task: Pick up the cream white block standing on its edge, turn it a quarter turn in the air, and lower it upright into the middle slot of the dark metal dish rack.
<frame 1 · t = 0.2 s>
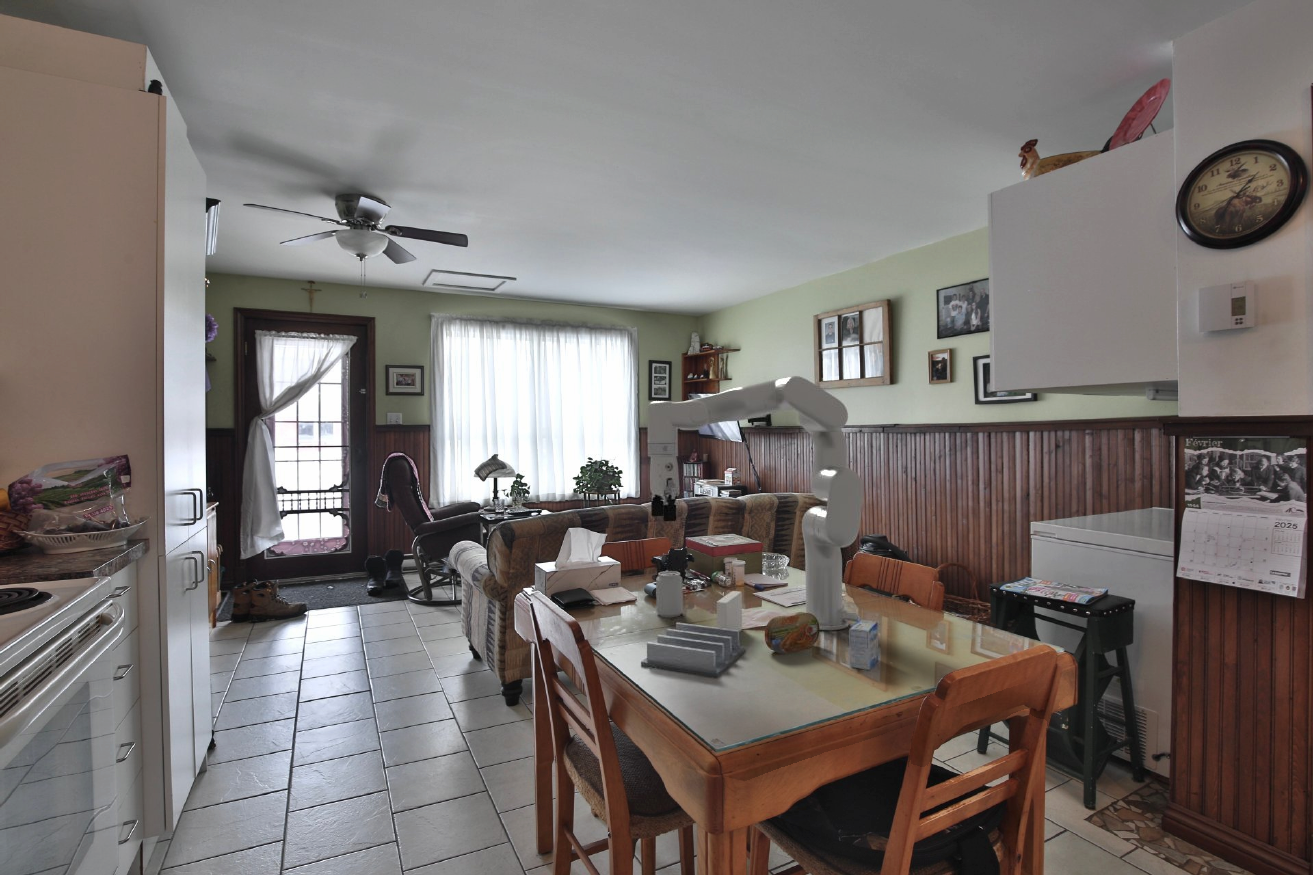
hand: (663, 518, 163), 31 cm above the table, tool pointing down, fingers open, 9 cm apart
dish rack: (694, 658, 150), on the table
cream white block: (730, 635, 166), on the table
can: (669, 615, 186), on the table
tin: (792, 650, 155), on the table
medicine box: (864, 664, 145), on the table
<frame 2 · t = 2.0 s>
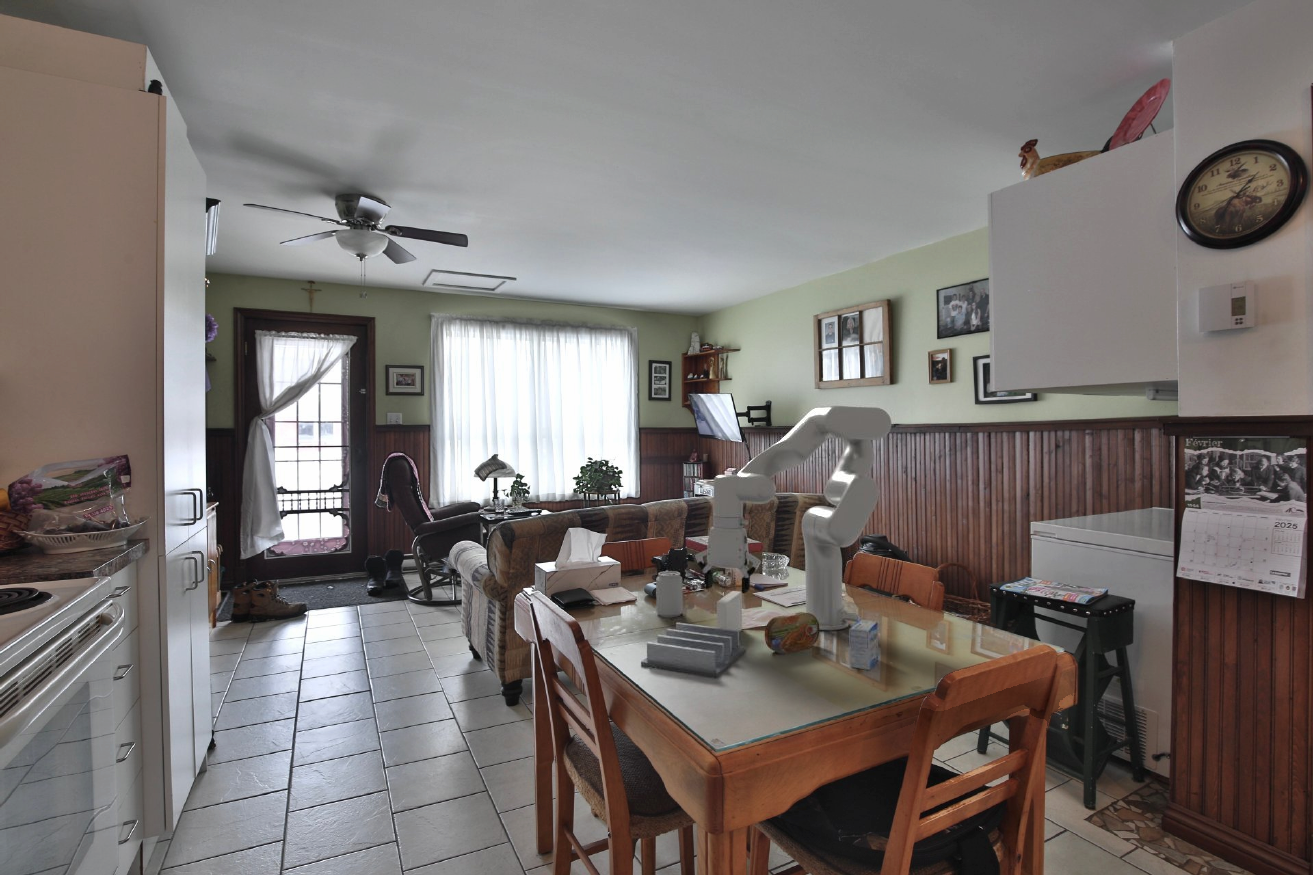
hand: (726, 590, 166), 12 cm above the table, tool pointing down, fingers open, 9 cm apart
nothing on the table moved.
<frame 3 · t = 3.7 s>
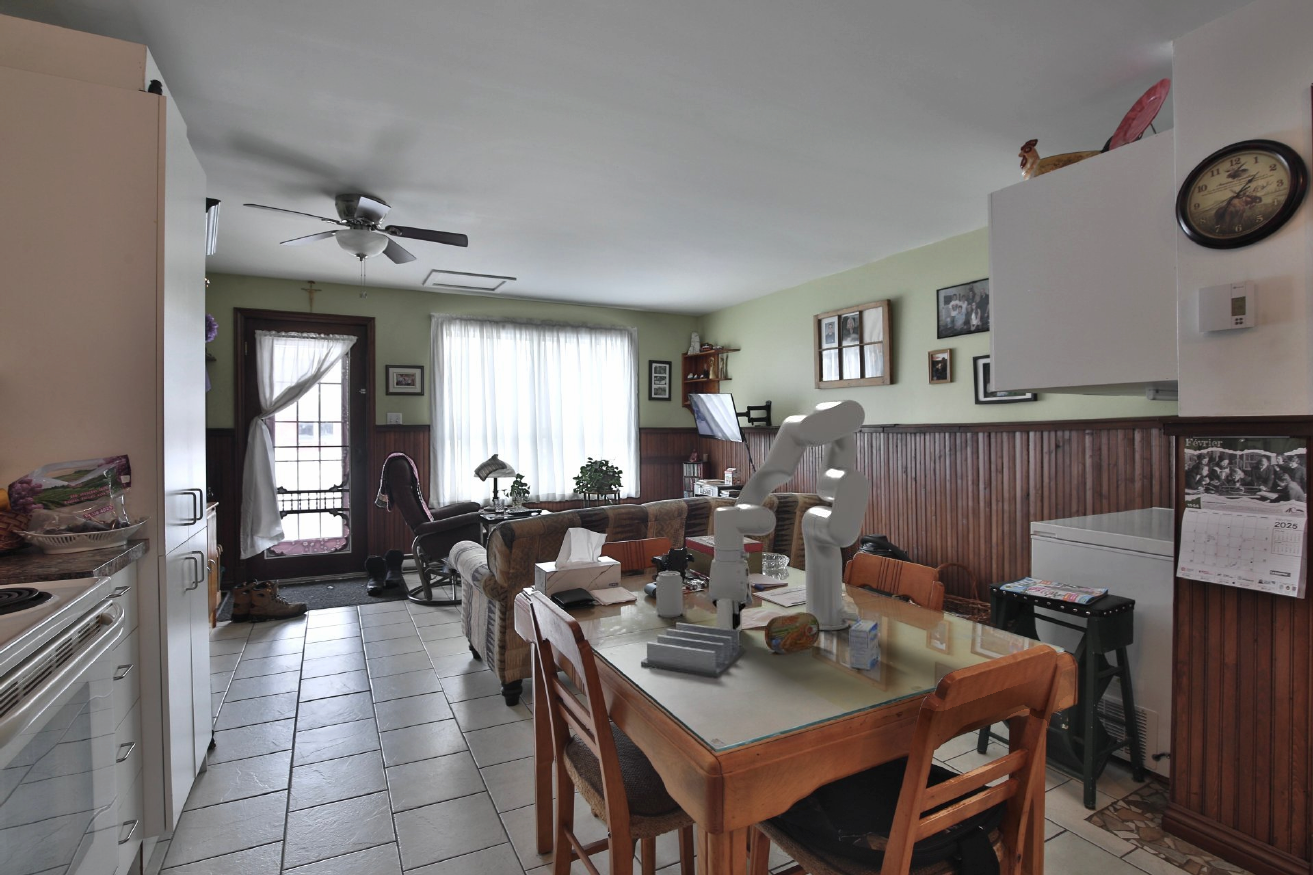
hand: (729, 626, 166), 2 cm above the table, tool pointing down, fingers closed on cream white block, 2 cm apart
cream white block: (730, 635, 166), on the table, touching gripper
everything else where it was.
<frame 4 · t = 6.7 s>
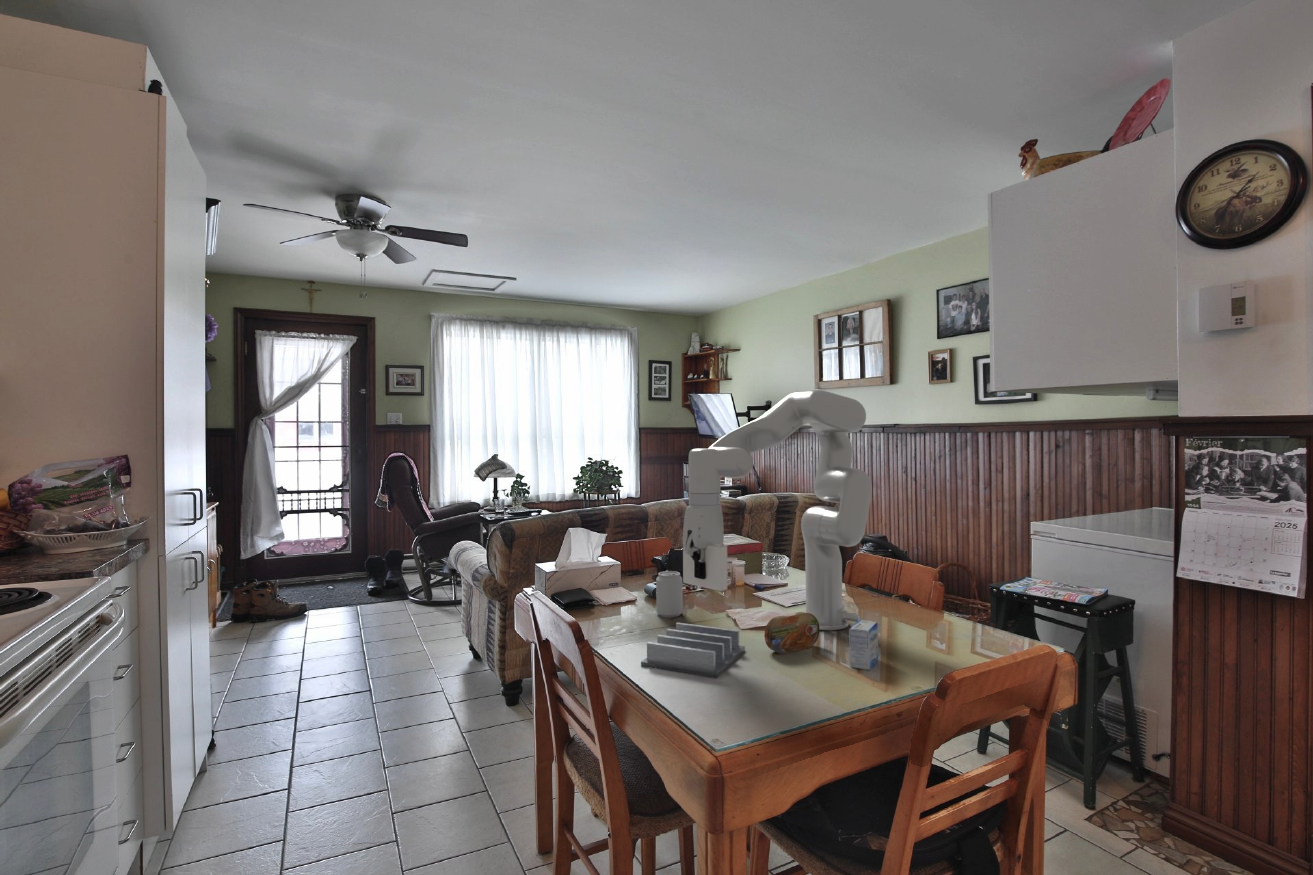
hand: (704, 576, 155), 18 cm above the table, tool pointing down, fingers closed on cream white block, 2 cm apart
cream white block: (704, 585, 155), point 15 cm above the table, touching gripper
everything else where it was.
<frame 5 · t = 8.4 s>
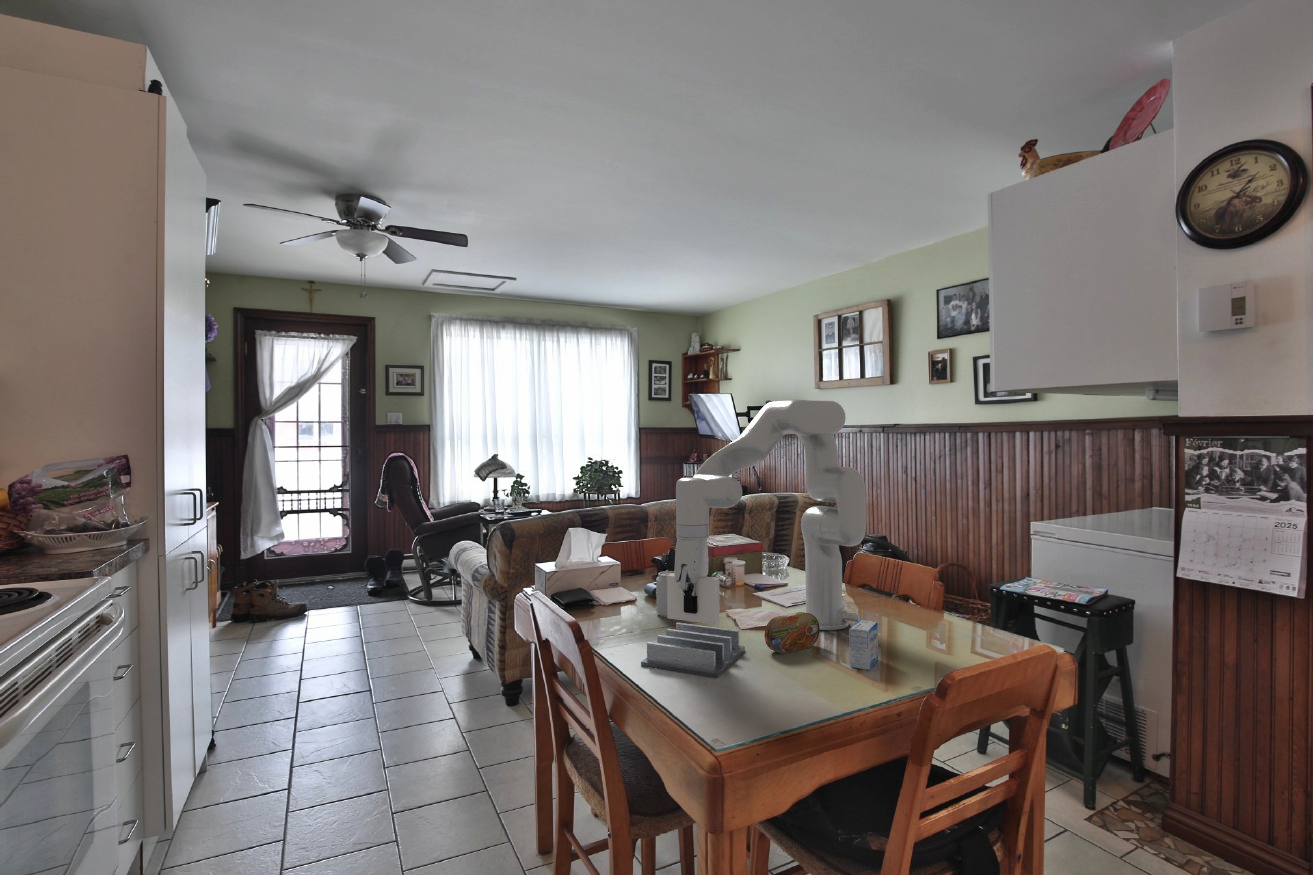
hand: (693, 610, 150), 11 cm above the table, tool pointing down, fingers closed on cream white block, 2 cm apart
cream white block: (693, 619, 150), point 9 cm above the table, touching gripper
everything else where it was.
when the fingers open (6 cm above the table, at t = 9.9 s): cream white block drops 2 cm, resting on dish rack.
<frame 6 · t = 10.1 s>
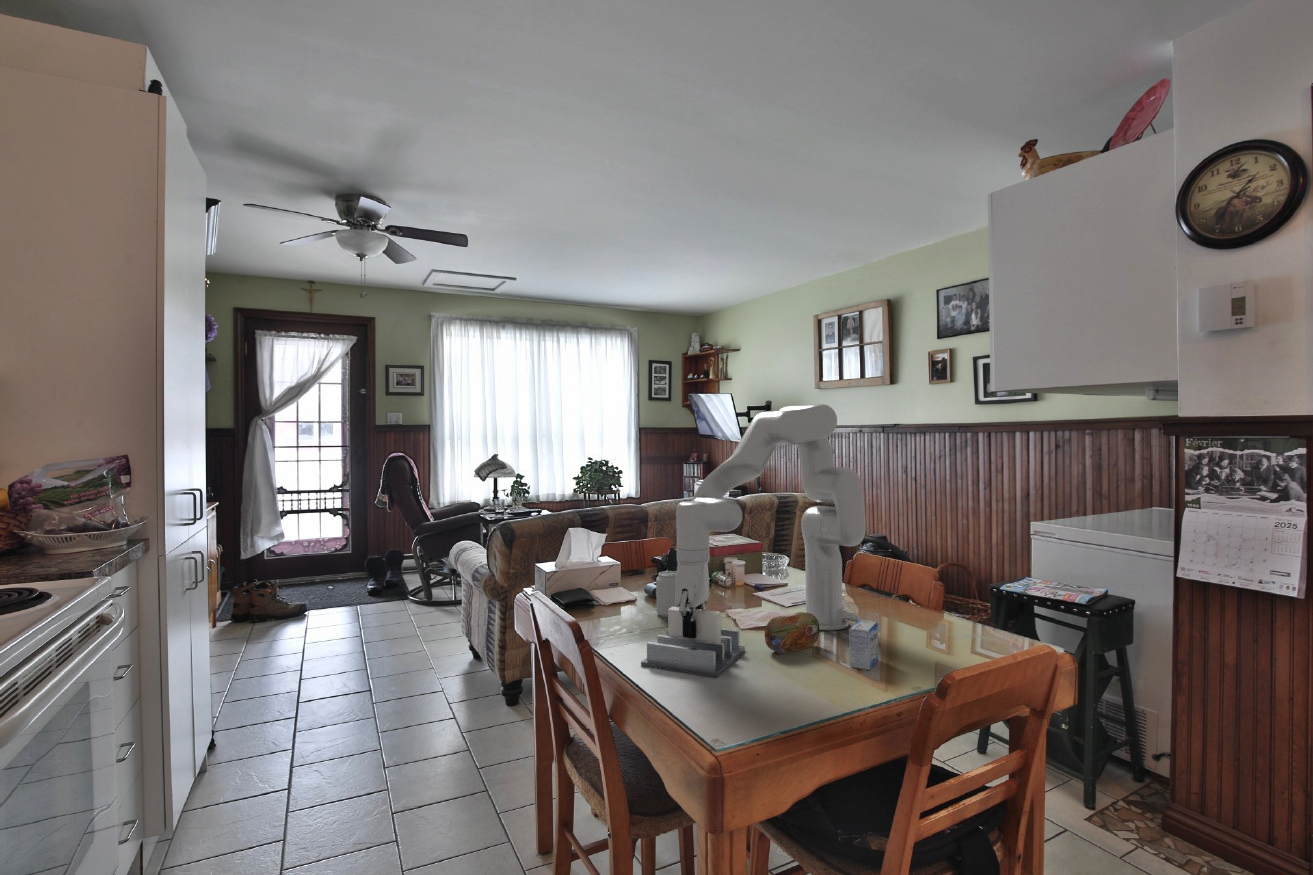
hand: (694, 633, 150), 6 cm above the table, tool pointing down, fingers open, 4 cm apart
cream white block: (694, 653, 150), point 1 cm above the table, touching dish rack
everything else where it was.
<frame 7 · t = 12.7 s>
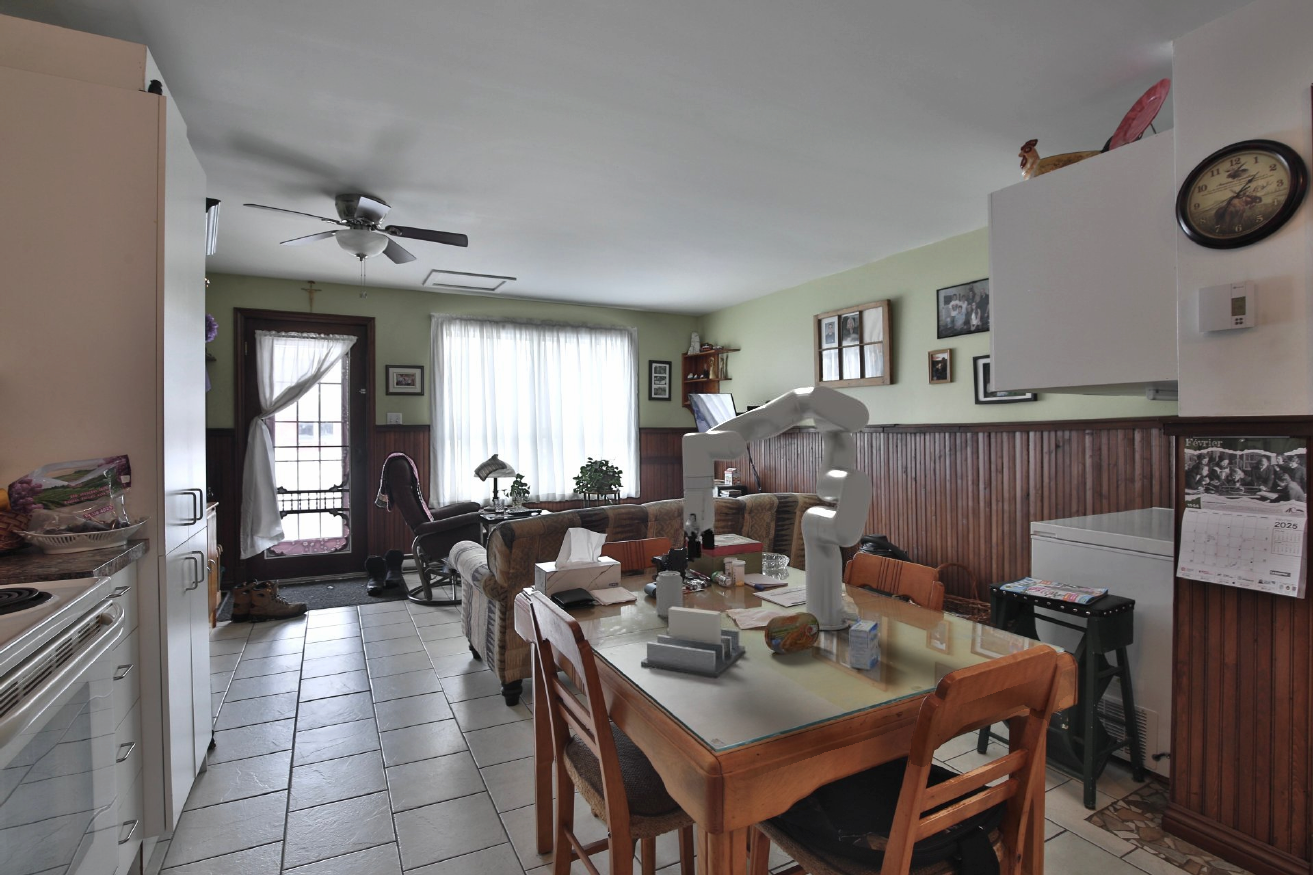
hand: (701, 553, 158), 23 cm above the table, tool pointing down, fingers open, 9 cm apart
nothing on the table moved.
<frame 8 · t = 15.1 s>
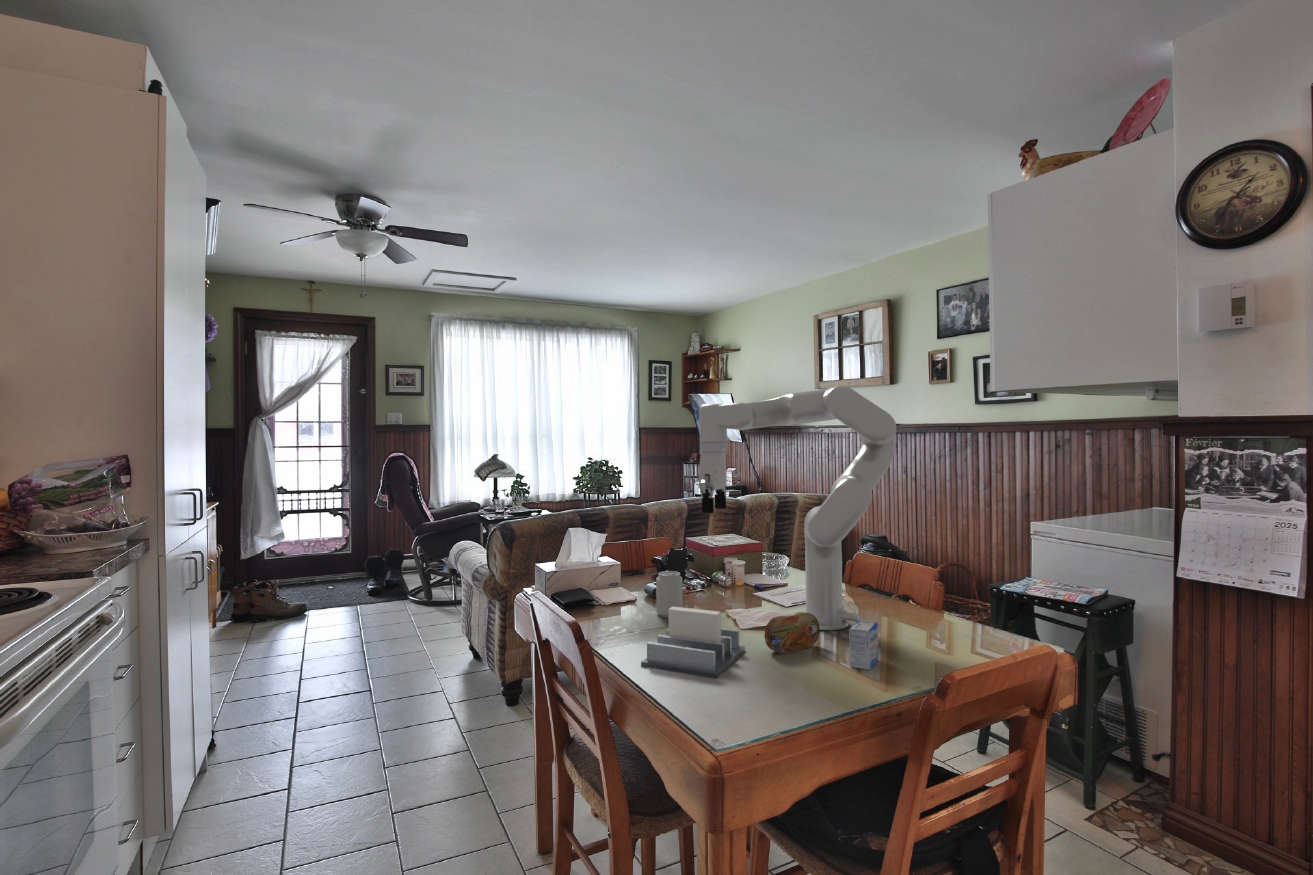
hand: (714, 510, 179), 30 cm above the table, tool pointing down, fingers open, 9 cm apart
nothing on the table moved.
at the end: cream white block 0.2 cm off-centre on the dish rack, point 1.0 cm above the dish rack's base; cream white block tilted 0°; the gripper is holding nothing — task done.
